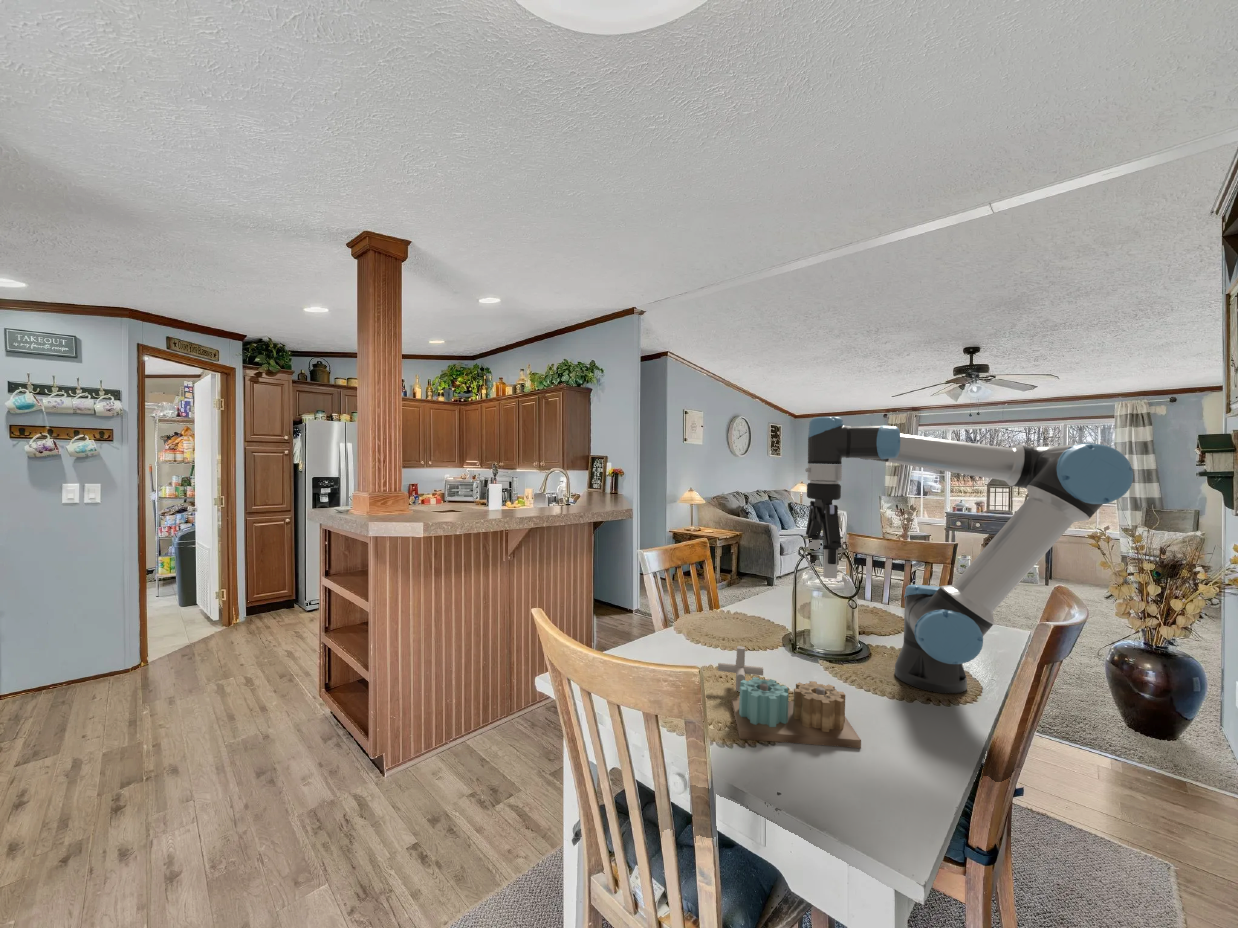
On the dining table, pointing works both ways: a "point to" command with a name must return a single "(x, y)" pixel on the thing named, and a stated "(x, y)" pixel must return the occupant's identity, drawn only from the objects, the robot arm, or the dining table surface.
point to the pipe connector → (740, 667)
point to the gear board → (795, 729)
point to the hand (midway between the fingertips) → (821, 571)
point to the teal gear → (763, 702)
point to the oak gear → (819, 706)
